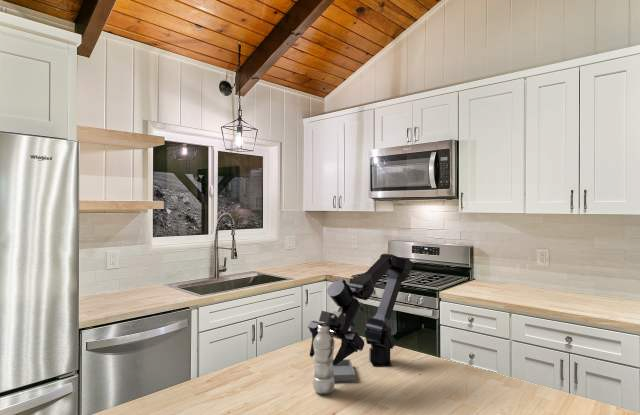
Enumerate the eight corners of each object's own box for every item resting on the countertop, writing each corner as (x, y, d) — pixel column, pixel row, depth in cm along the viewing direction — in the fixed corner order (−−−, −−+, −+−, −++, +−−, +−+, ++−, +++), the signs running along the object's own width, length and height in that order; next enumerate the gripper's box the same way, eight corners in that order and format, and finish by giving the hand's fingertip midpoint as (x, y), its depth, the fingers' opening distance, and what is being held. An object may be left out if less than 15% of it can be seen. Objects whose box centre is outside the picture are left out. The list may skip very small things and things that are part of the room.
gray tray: (350, 365, 140) (350, 359, 139) (355, 381, 127) (355, 374, 127) (314, 366, 139) (314, 360, 139) (316, 382, 127) (316, 375, 127)
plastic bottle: (337, 387, 123) (337, 322, 123) (331, 398, 117) (331, 329, 116) (316, 385, 125) (316, 320, 125) (310, 395, 119) (310, 327, 118)
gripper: (311, 295, 130) (286, 338, 122) (358, 305, 117) (333, 354, 109) (328, 314, 136) (304, 357, 128) (374, 326, 123) (351, 374, 115)
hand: (322, 360), depth 120 cm, fingers open, 9 cm apart
